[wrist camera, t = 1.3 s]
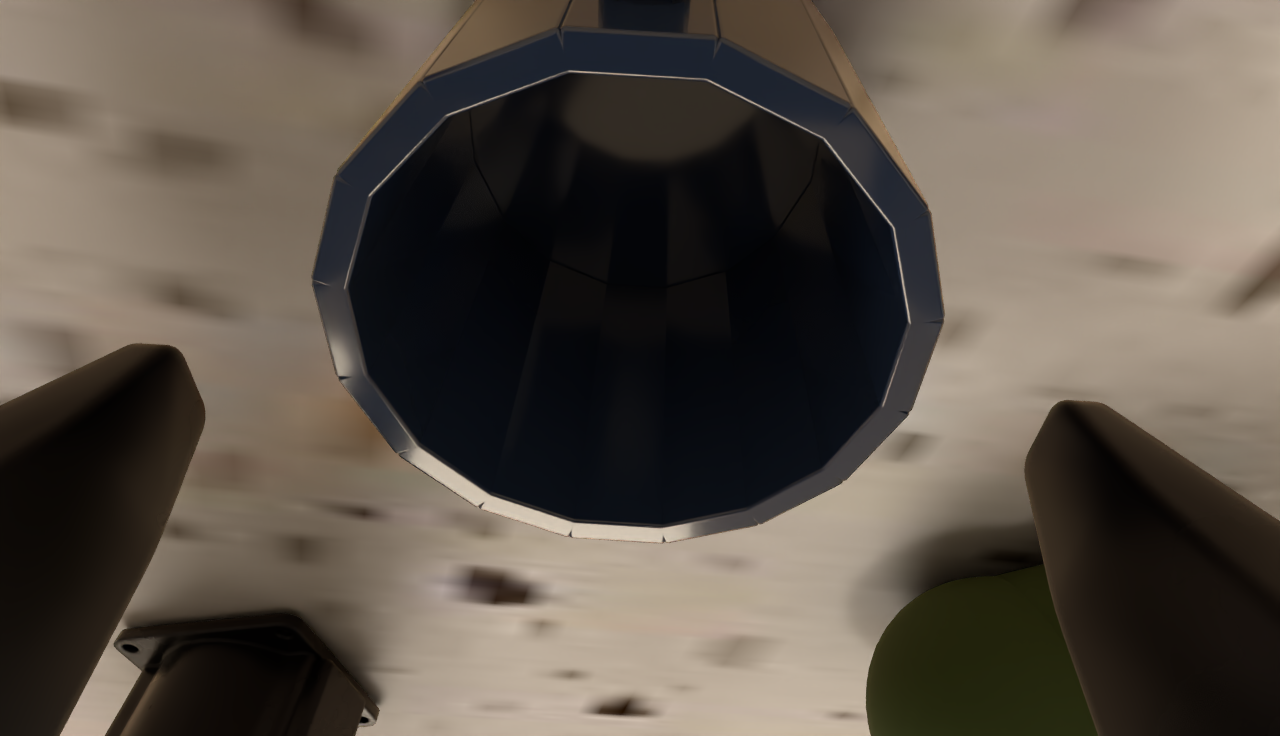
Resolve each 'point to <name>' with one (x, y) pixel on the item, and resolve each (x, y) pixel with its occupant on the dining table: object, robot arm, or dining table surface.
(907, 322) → the blue coffee mug
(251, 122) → the dining table surface
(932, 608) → the avocado
